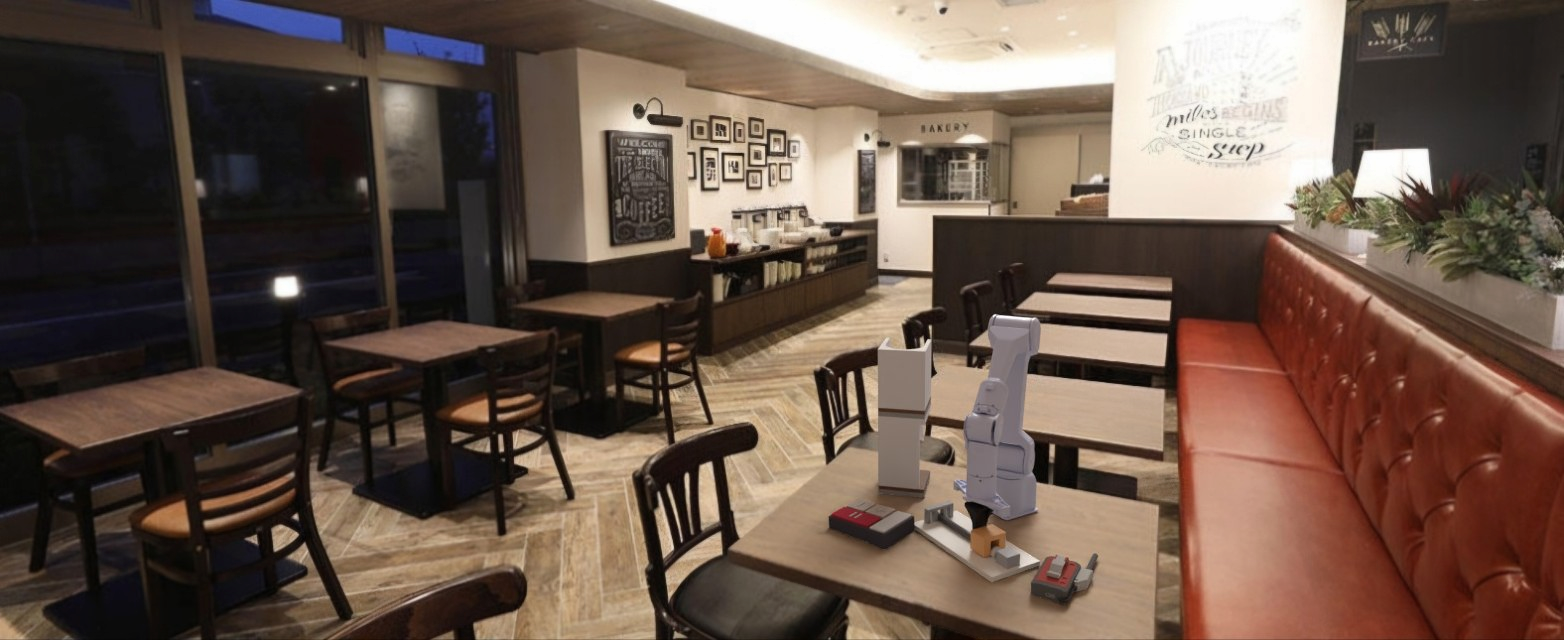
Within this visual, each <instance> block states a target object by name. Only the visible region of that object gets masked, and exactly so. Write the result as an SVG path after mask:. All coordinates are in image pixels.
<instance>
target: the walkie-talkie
mask: <svg viewBox="0 0 1564 640" xmlns="http://www.w3.org/2000/svg"><path fill="white" fill-rule="evenodd" d="M1098 558H1099V555H1098V553H1093V554H1092V556H1091V557H1090V559H1089V562H1088V563H1087V565H1086V567H1085V568H1084V567H1082V565H1081V564H1080V563H1078V561H1073V560H1070V557H1067V556H1065V555H1060V554H1055V556H1054V555H1051V556H1050V555H1049V556H1046V557H1045V558H1044V560H1043V561H1042V563H1041V564H1040V566H1039V568H1038V570H1037V572H1036V573H1035V575H1034V577H1033V578H1032V580H1031V582H1030V594H1031V595H1032V596H1033V597H1035V598H1036V597H1037V598H1040V597H1041V598H1040V599H1044V600H1047V601H1051V602H1055V603H1058V602H1059V603H1058V604H1061V605H1067V604H1069V602H1070V600H1071V598H1072V596H1073V594H1074V592H1077V593H1078V592H1080V591H1085V590H1087V589H1088V588H1089V585H1090V584H1091V582H1092V581H1093V576H1094V570H1093V569H1094V566H1095V565H1096V562H1097V560H1098Z"/></svg>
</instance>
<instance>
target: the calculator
mask: <svg viewBox="0 0 1564 640" xmlns="http://www.w3.org/2000/svg"><path fill="white" fill-rule="evenodd" d="M914 522H915V516H914V515H912V514H910V513H907V512H904V511H900V510H896V508H893V507H891V506H886V505H882V504H879V503H877V504H876V502H873V501H869V500H865V499H862V498H858V499H855V500H854V501H852V502H850V503H849V504H847V505H846V506H843V507H840V508H839V509H837V510H836V511H833V512H832V513H831V514H830V515H828V528H829V529H831V530H833V531H836V532H838V533H840V534H844V535H846V536H849V537H851V538H854V539H858V540H860V541H863V542H866V543H867V544H868V545H871V546H873V547H876V548H878V549H881V550H884V551H885V550H888V549H889V548H891V547H892V546H894V545H896V544H897V543H899V542H900V541H903V539H905V538H906V537H908V536H909V535H911V534H913V533H914V532H915V531H916V530H915V523H914Z"/></svg>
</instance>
